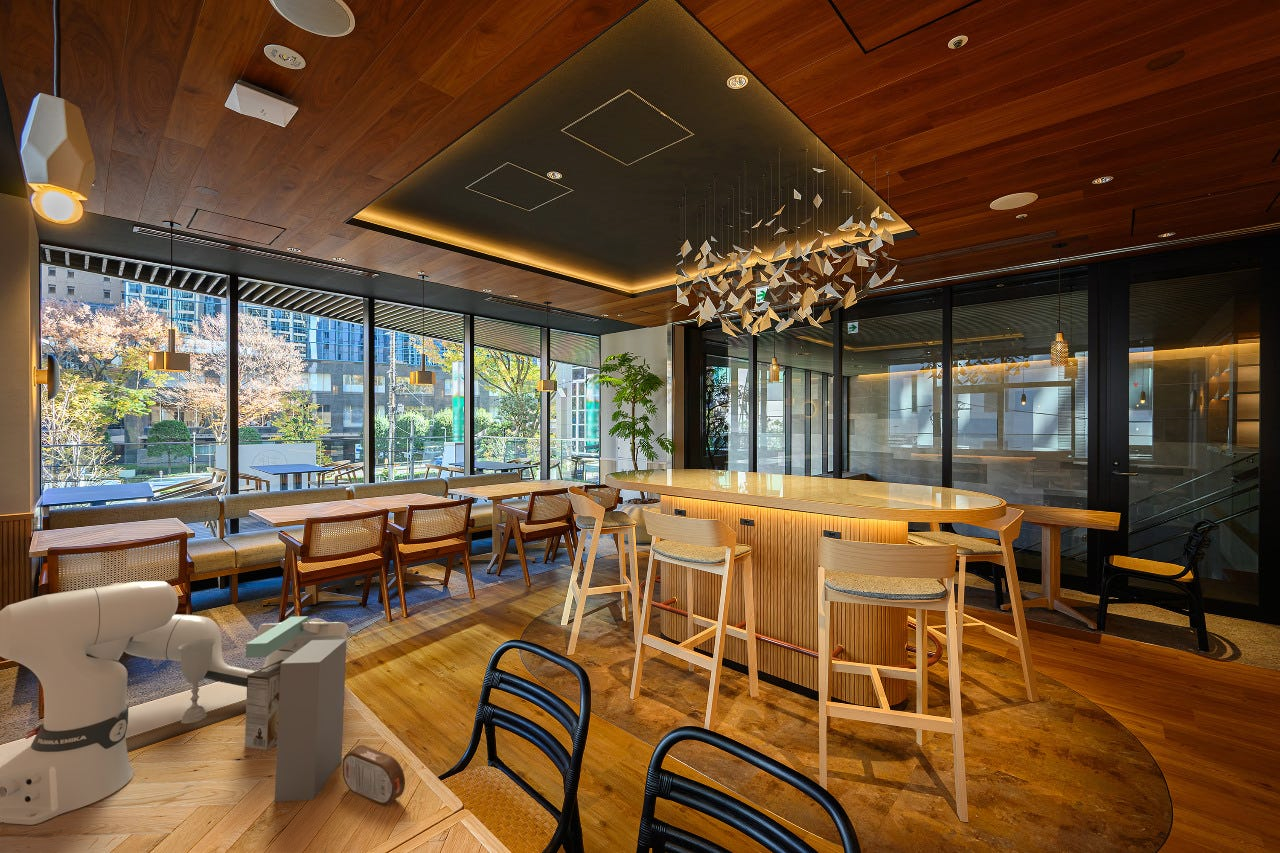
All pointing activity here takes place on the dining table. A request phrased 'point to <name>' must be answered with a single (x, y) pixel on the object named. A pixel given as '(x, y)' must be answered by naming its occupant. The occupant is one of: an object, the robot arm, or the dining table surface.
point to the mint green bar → (275, 637)
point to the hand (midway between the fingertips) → (291, 626)
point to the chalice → (195, 673)
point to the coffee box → (263, 707)
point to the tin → (373, 775)
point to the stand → (310, 719)
